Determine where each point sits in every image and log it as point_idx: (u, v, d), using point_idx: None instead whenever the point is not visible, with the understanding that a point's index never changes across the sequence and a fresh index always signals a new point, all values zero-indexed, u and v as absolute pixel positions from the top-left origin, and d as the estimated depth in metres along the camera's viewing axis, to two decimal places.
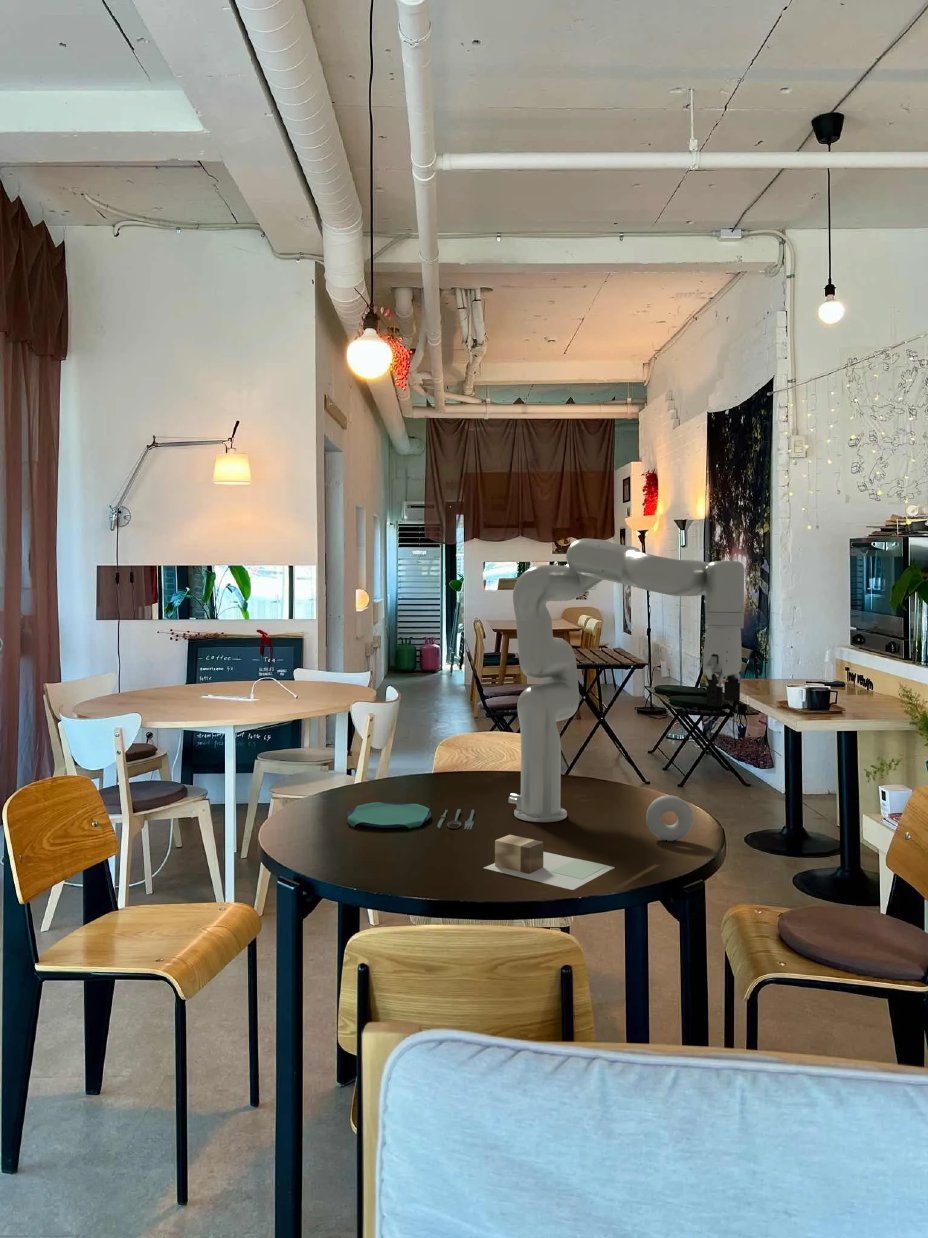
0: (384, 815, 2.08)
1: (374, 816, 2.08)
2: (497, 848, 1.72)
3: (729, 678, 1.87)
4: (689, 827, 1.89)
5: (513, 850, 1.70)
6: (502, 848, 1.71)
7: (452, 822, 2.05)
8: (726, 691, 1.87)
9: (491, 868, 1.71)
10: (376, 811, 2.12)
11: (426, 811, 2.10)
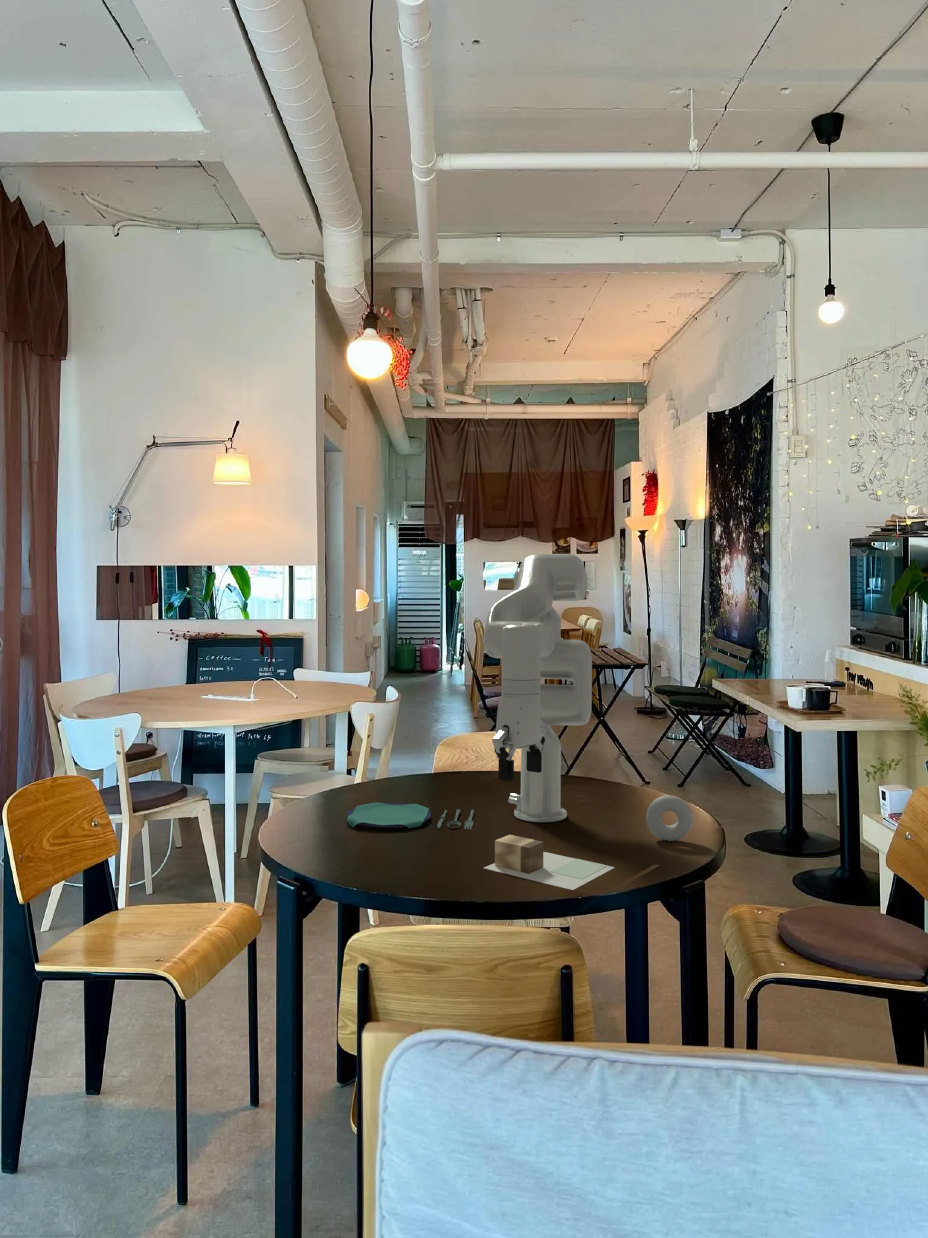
0: (384, 815, 2.08)
1: (373, 816, 2.08)
2: (497, 848, 1.72)
3: (531, 747, 1.75)
4: (689, 827, 1.89)
5: (513, 850, 1.70)
6: (502, 848, 1.71)
7: (452, 822, 2.05)
8: (528, 761, 1.75)
9: (491, 868, 1.71)
10: (375, 811, 2.11)
11: (426, 811, 2.10)
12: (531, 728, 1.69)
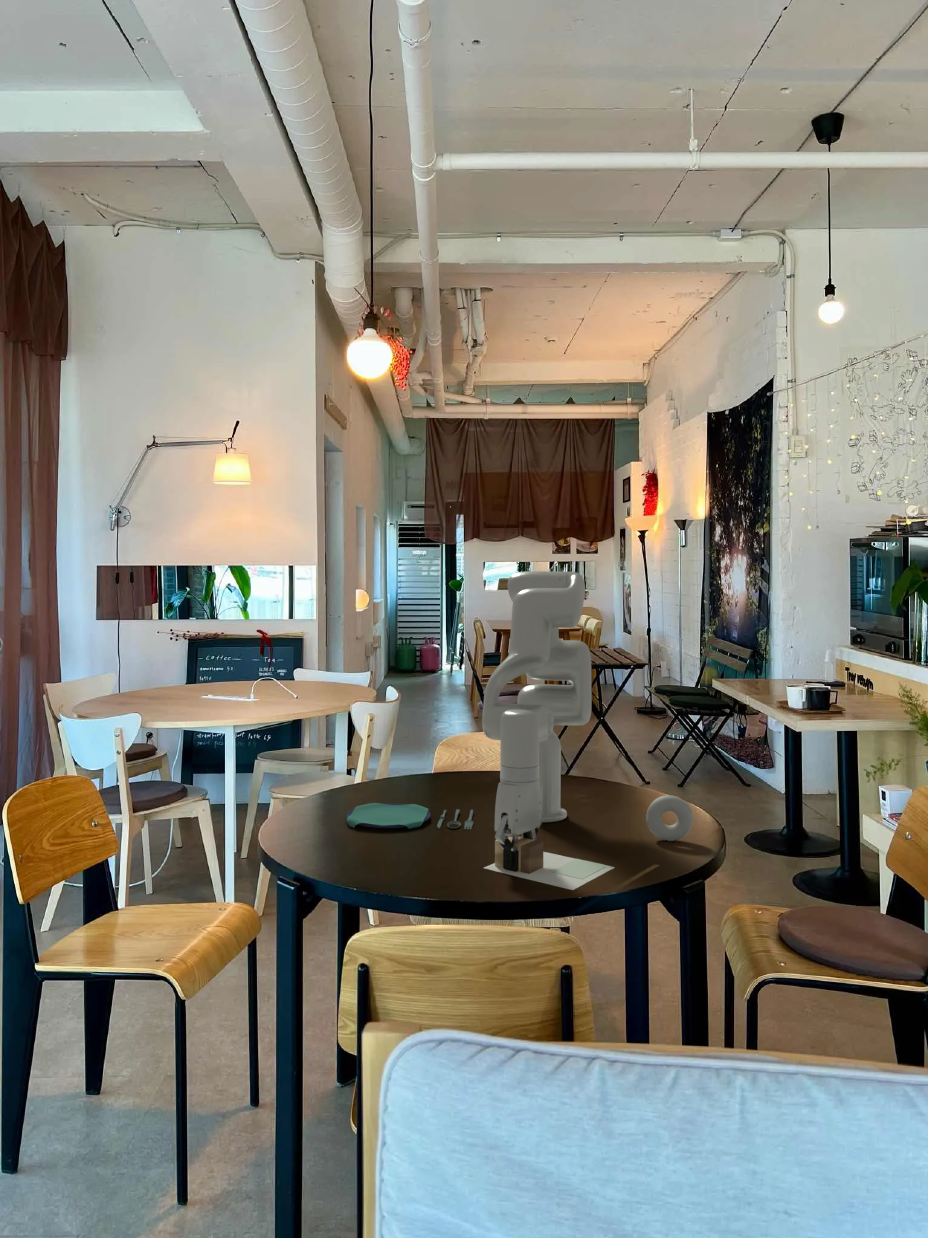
0: (383, 816, 2.08)
1: (373, 816, 2.07)
2: (497, 848, 1.72)
3: (525, 837, 1.74)
4: (689, 827, 1.89)
5: None
6: None
7: (452, 822, 2.05)
8: None
9: (491, 868, 1.71)
10: (375, 812, 2.11)
11: (425, 811, 2.10)
12: (530, 814, 1.70)
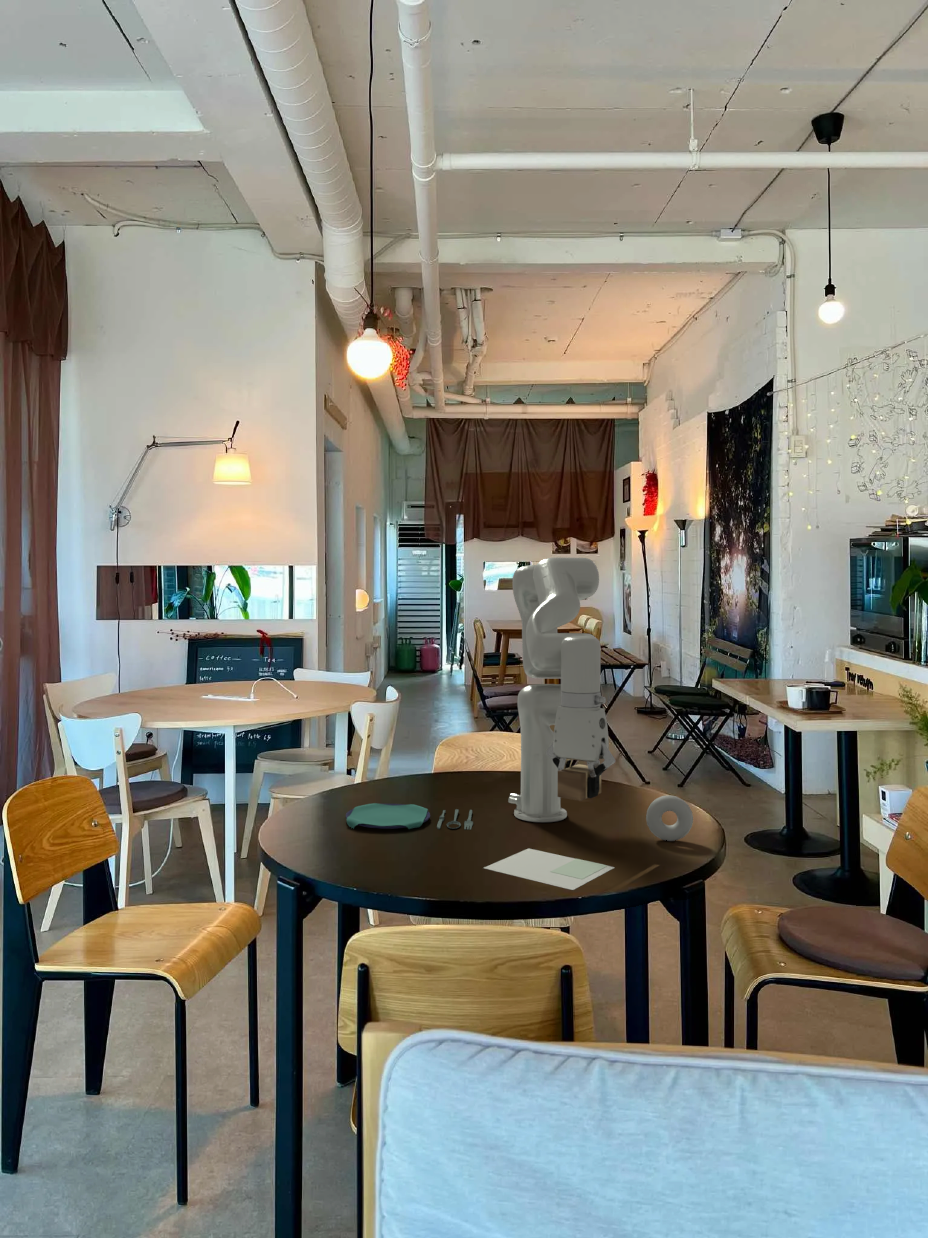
0: (382, 816, 2.07)
1: (372, 817, 2.07)
2: None
3: None
4: (689, 827, 1.89)
5: None
6: None
7: (451, 822, 2.05)
8: None
9: (491, 868, 1.71)
10: (374, 812, 2.11)
11: (424, 812, 2.10)
12: (574, 742, 1.68)
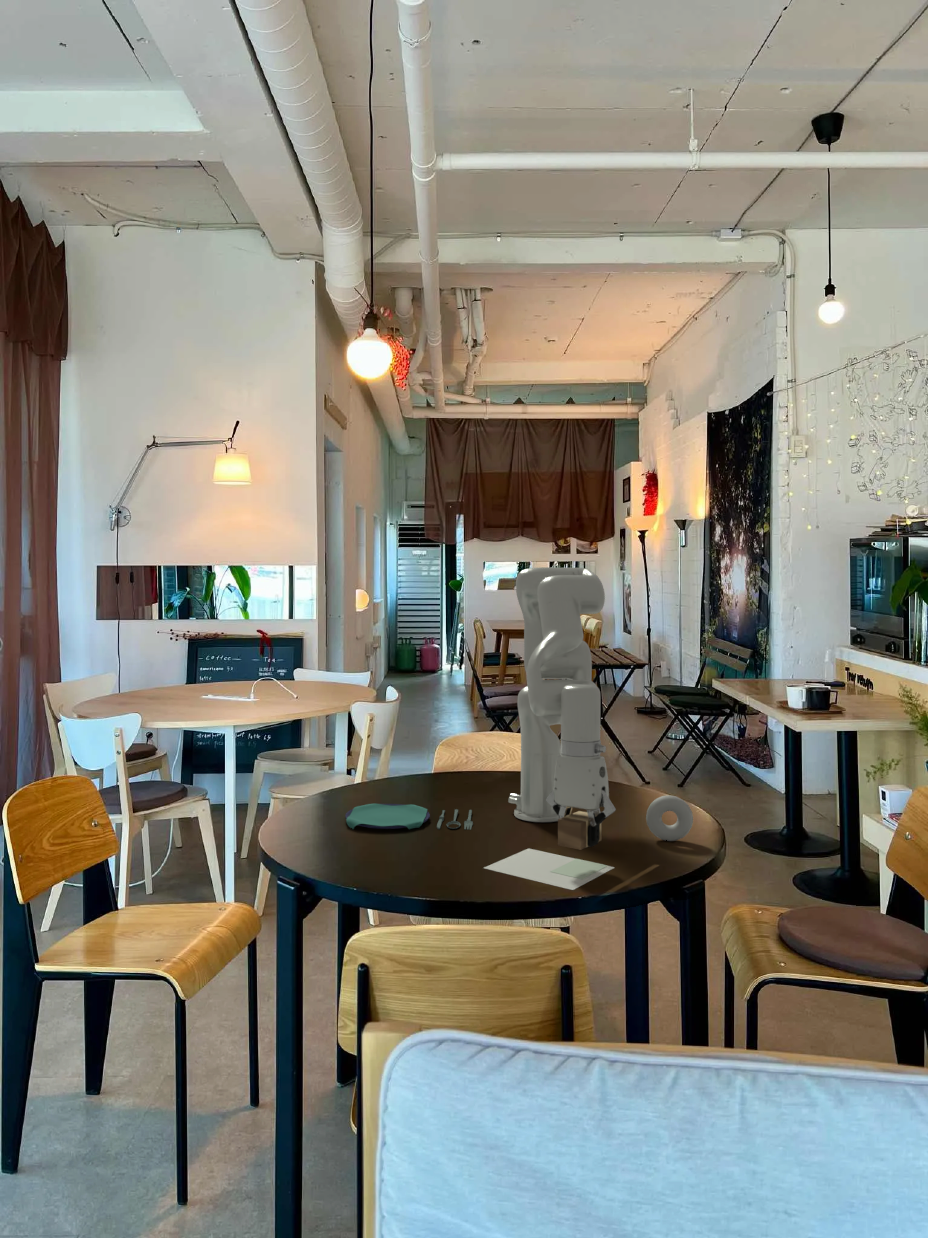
0: (382, 816, 2.07)
1: (372, 817, 2.07)
2: None
3: None
4: (689, 827, 1.89)
5: None
6: None
7: (451, 822, 2.05)
8: None
9: (491, 868, 1.71)
10: (373, 812, 2.11)
11: (424, 812, 2.10)
12: (574, 790, 1.68)
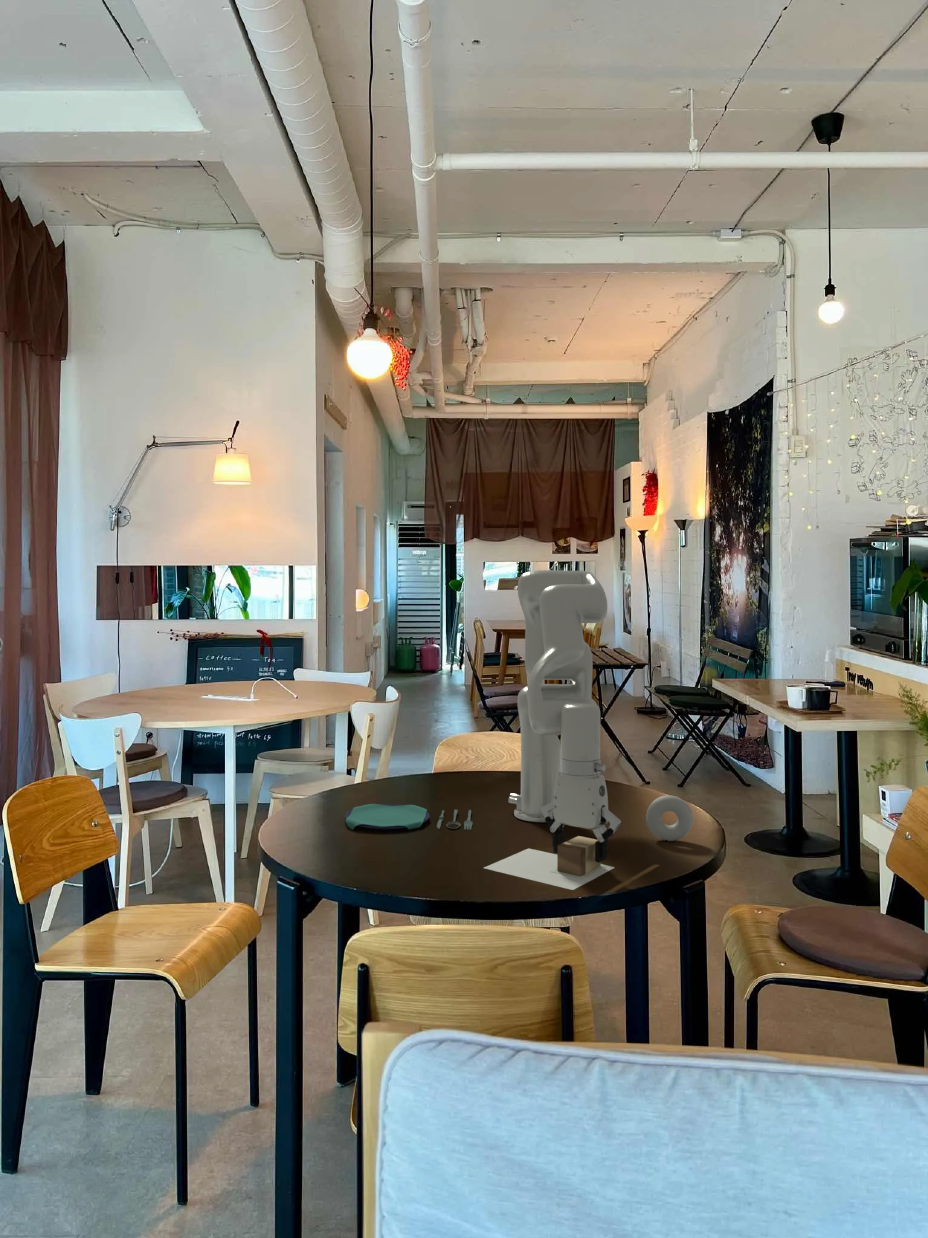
0: (382, 816, 2.07)
1: (372, 817, 2.06)
2: None
3: None
4: (689, 827, 1.89)
5: None
6: None
7: (451, 822, 2.05)
8: None
9: (491, 868, 1.71)
10: (373, 813, 2.10)
11: (424, 812, 2.10)
12: (574, 809, 1.68)
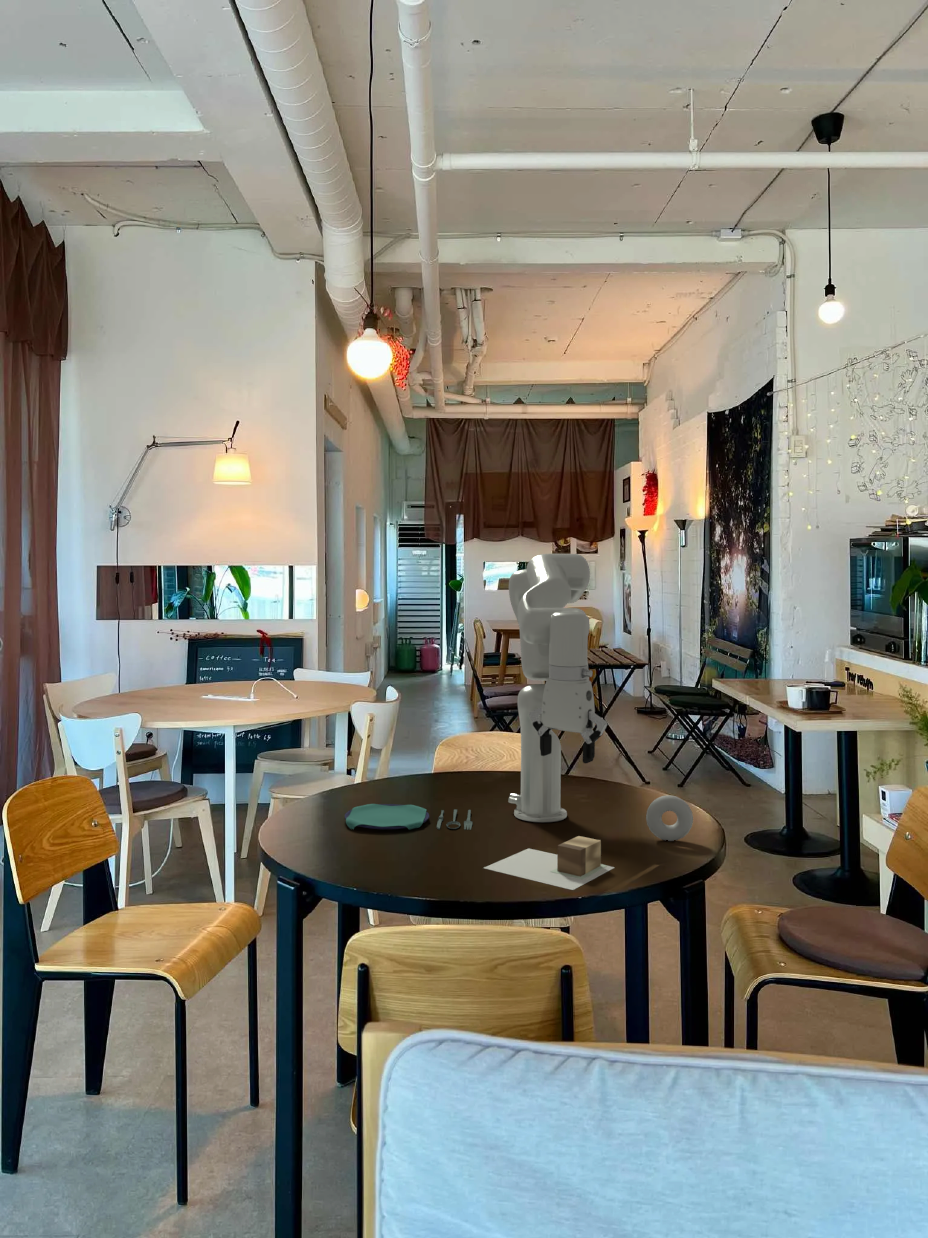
0: (381, 817, 2.07)
1: (371, 817, 2.06)
2: None
3: None
4: (689, 827, 1.89)
5: None
6: None
7: (451, 822, 2.05)
8: None
9: (491, 868, 1.71)
10: (372, 813, 2.10)
11: (423, 812, 2.09)
12: (561, 713, 1.74)
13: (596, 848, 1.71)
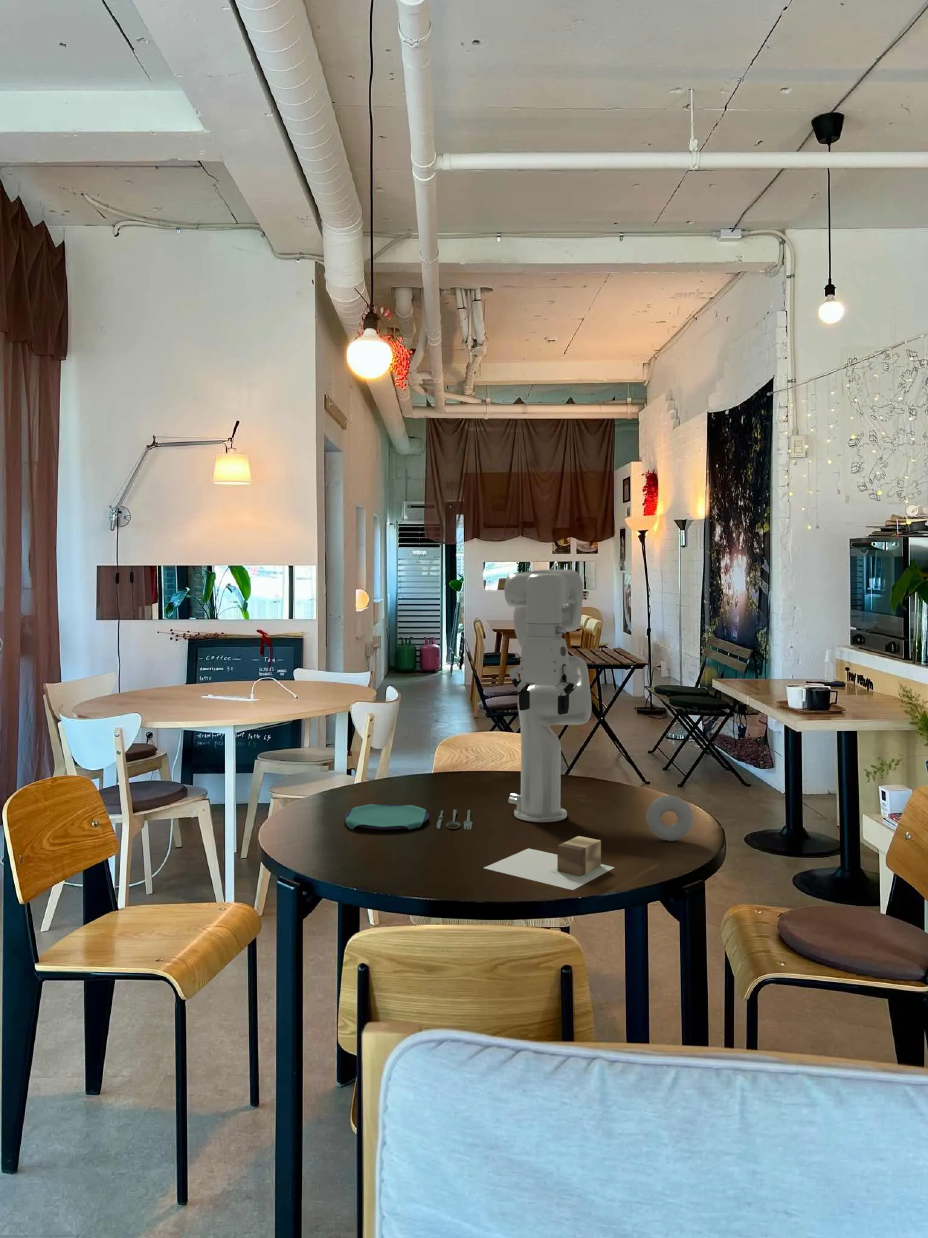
0: (381, 817, 2.06)
1: (371, 817, 2.06)
2: None
3: None
4: (689, 827, 1.89)
5: None
6: None
7: (450, 823, 2.04)
8: None
9: (491, 868, 1.71)
10: (372, 813, 2.10)
11: (423, 812, 2.09)
12: (538, 668, 1.86)
13: (596, 848, 1.71)
